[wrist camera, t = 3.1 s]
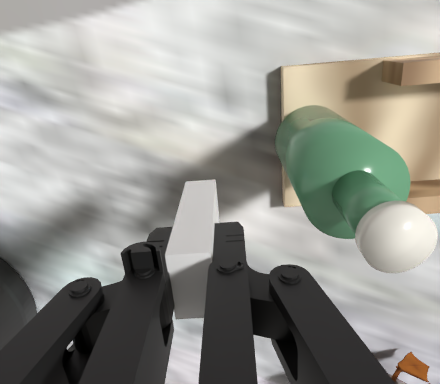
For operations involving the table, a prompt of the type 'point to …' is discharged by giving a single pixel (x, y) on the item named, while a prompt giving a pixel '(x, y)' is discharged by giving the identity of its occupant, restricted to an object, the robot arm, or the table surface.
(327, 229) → the bottle
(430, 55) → the cradle
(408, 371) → the decorative duck model
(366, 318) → the table surface
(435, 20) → the table surface
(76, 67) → the table surface
